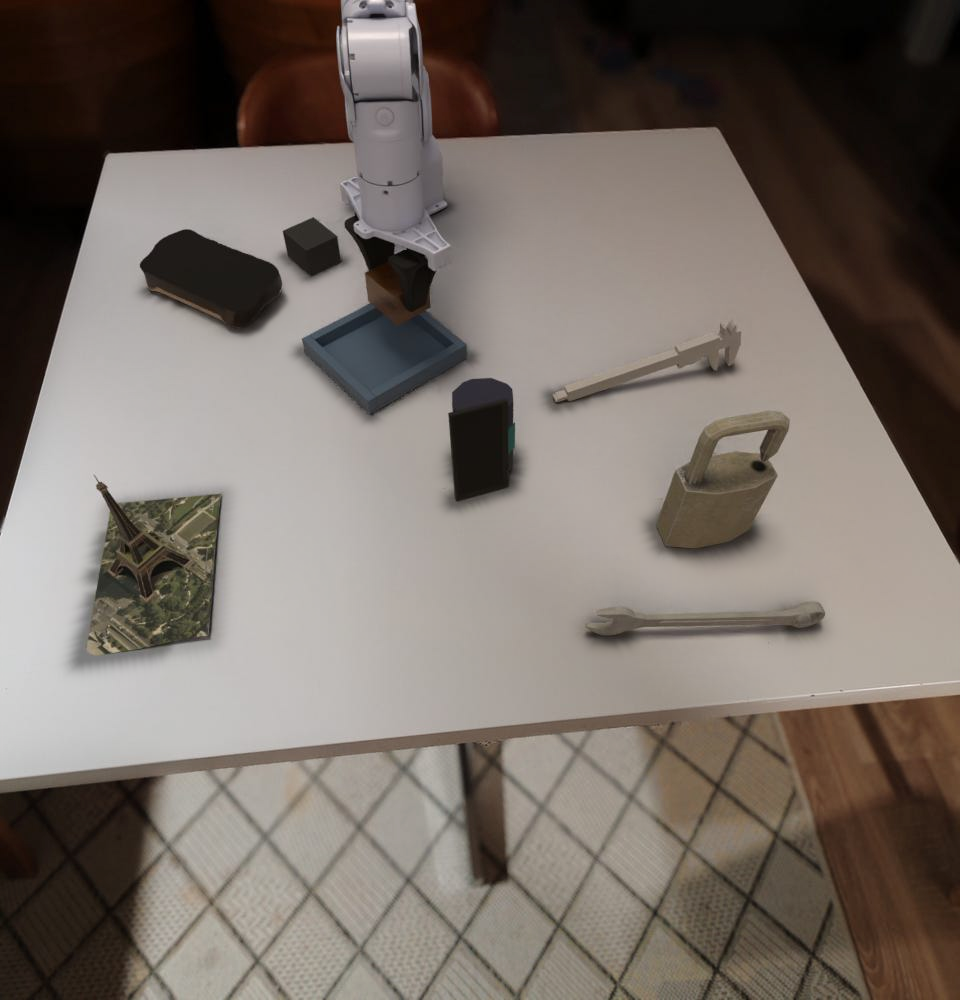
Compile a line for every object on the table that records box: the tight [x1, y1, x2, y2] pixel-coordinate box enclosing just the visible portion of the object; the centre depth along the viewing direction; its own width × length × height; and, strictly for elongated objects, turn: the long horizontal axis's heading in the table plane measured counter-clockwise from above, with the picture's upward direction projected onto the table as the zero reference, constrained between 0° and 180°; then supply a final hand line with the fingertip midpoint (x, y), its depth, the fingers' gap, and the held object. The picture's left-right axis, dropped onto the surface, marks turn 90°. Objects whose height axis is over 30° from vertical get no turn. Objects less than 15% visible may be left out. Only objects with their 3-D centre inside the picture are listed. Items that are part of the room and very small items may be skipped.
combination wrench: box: [584, 601, 826, 636], centre depth 63 cm, size 4×1×20 cm
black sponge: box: [139, 228, 283, 329], centre depth 88 cm, size 16×8×4 cm, turn 59°
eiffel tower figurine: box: [85, 474, 222, 656], centre depth 62 cm, size 15×10×13 cm
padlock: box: [655, 410, 791, 549], centre depth 65 cm, size 4×8×15 cm, turn 103°
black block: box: [282, 216, 342, 277], centre depth 92 cm, size 4×5×4 cm
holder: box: [301, 302, 468, 415], centre depth 83 cm, size 13×12×2 cm
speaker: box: [447, 377, 516, 502], centre depth 71 cm, size 8×6×10 cm
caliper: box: [552, 318, 742, 403], centre depth 79 cm, size 20×1×6 cm, turn 107°
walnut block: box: [364, 261, 432, 326], centre depth 78 cm, size 4×5×4 cm
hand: (399, 293), depth 79 cm, fingers closed on walnut block, 5 cm apart
